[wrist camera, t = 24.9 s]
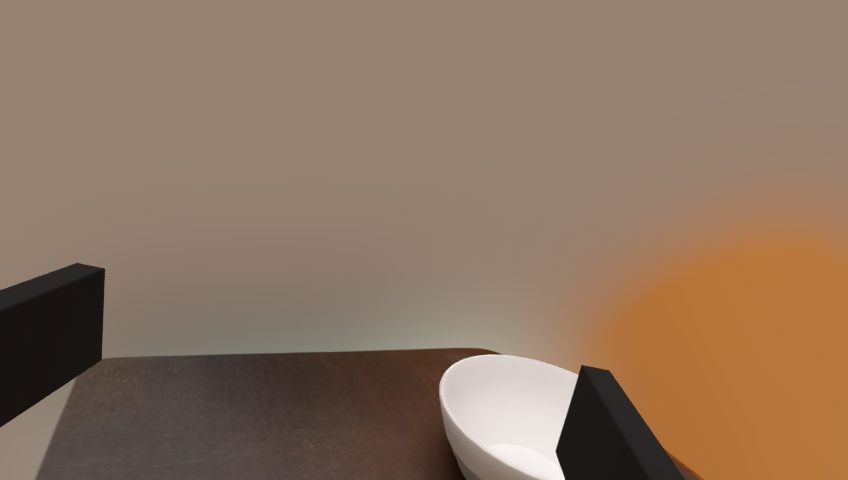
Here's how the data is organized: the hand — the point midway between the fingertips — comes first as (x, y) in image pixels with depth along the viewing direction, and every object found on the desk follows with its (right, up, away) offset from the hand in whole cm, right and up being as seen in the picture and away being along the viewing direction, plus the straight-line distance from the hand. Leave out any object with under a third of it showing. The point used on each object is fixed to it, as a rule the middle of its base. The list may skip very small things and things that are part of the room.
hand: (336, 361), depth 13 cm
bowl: (+12, -20, +31) cm, 39 cm away
